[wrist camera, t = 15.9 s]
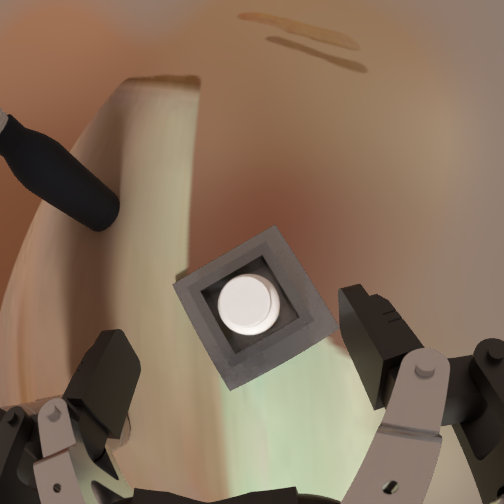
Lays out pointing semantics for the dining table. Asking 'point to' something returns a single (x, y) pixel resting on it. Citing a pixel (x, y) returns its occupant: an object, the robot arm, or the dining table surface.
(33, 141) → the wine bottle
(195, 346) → the dining table surface
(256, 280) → the supplement bottle
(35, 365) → the dining table surface
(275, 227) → the square socket
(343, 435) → the dining table surface
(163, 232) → the dining table surface
